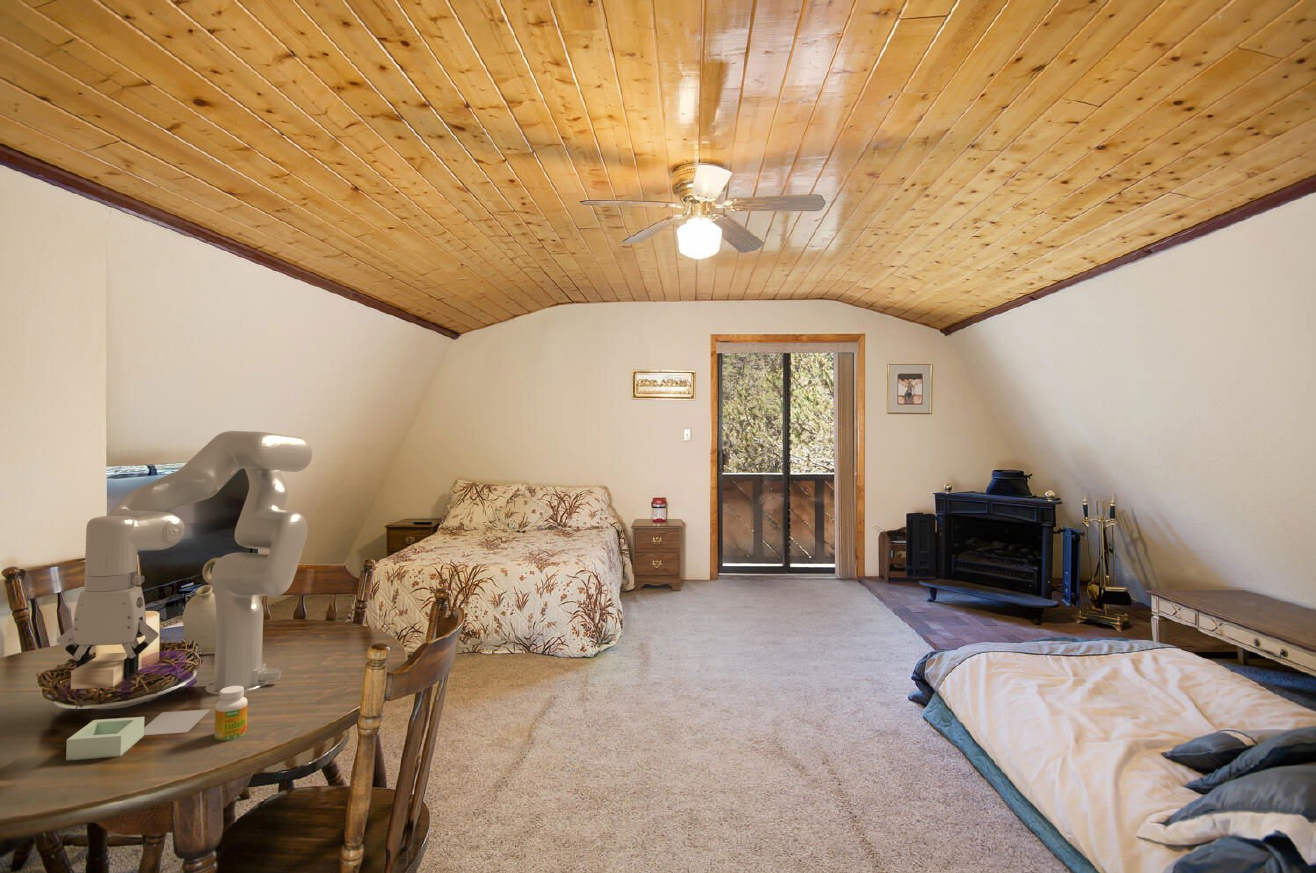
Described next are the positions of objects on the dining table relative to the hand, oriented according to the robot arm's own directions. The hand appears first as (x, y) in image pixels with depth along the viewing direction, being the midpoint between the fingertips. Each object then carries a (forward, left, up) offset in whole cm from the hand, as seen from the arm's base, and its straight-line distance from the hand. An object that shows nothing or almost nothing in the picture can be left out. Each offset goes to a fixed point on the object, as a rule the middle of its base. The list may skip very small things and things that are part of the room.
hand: (107, 677), depth 125 cm
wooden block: (0, 0, 0) cm, 0 cm away
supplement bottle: (-20, -2, -14) cm, 25 cm away
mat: (-7, -10, -14) cm, 19 cm away
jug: (+4, -62, -14) cm, 64 cm away
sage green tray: (0, 0, -14) cm, 14 cm away
